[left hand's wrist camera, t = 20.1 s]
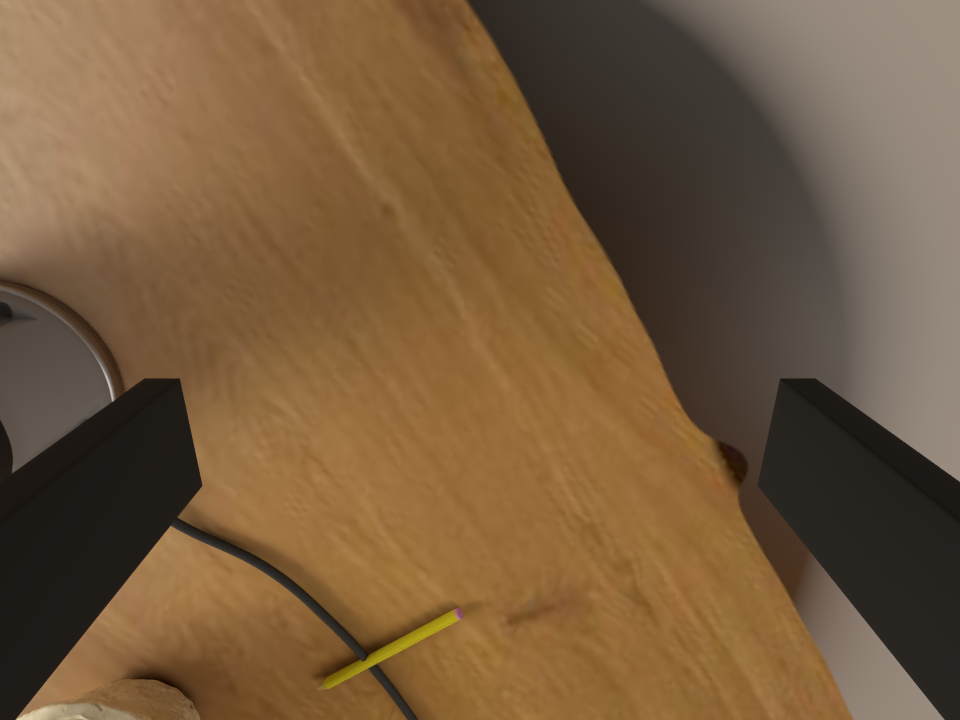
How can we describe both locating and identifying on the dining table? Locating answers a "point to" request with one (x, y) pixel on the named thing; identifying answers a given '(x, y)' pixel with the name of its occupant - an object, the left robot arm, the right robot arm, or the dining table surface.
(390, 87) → the dining table surface
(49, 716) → the bowl
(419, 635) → the pencil
